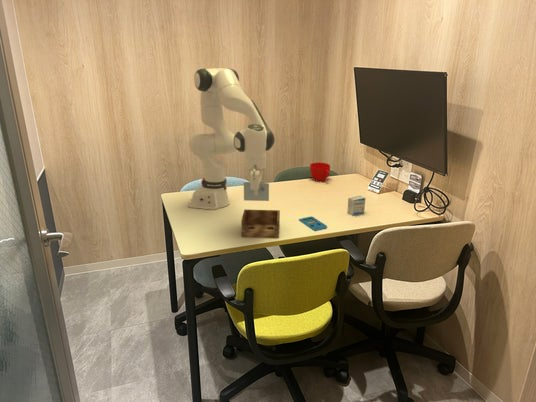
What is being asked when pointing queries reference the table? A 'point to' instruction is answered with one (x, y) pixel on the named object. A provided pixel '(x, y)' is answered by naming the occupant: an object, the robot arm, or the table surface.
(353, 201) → the medicine box
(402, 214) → the table surface
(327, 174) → the ceramic cup
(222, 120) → the robot arm
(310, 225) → the handheld gaming device
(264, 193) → the door
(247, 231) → the wooden box
